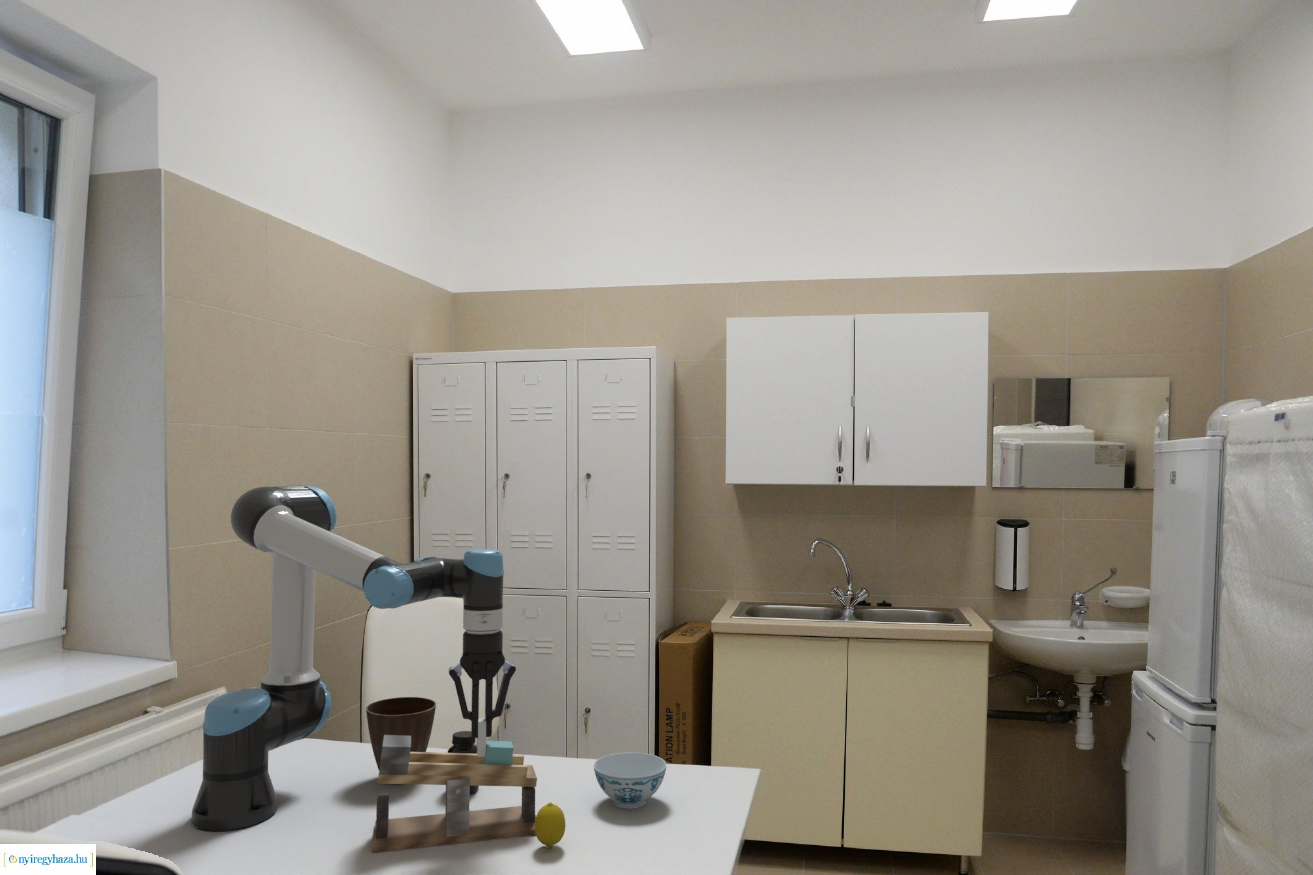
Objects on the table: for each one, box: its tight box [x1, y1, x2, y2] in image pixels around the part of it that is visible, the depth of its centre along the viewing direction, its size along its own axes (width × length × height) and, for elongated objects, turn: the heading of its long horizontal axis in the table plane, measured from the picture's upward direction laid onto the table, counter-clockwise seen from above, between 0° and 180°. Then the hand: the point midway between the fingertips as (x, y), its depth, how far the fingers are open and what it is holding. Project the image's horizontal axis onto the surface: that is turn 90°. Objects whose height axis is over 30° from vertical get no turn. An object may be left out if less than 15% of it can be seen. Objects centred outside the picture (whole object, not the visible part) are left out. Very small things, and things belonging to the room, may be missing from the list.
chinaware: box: [593, 751, 667, 809], centre depth 177 cm, size 15×15×8 cm
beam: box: [377, 735, 538, 788], centre depth 163 cm, size 29×7×7 cm, turn 105°
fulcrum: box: [371, 778, 537, 854], centre depth 163 cm, size 30×12×11 cm, turn 105°
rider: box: [483, 740, 515, 765], centre depth 165 cm, size 5×4×5 cm
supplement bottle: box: [446, 730, 480, 796], centre depth 183 cm, size 7×7×12 cm
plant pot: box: [365, 696, 437, 771], centre depth 190 cm, size 15×15×16 cm
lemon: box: [535, 802, 566, 849], centre depth 155 cm, size 6×6×8 cm
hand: (481, 753), depth 164 cm, fingers closed
